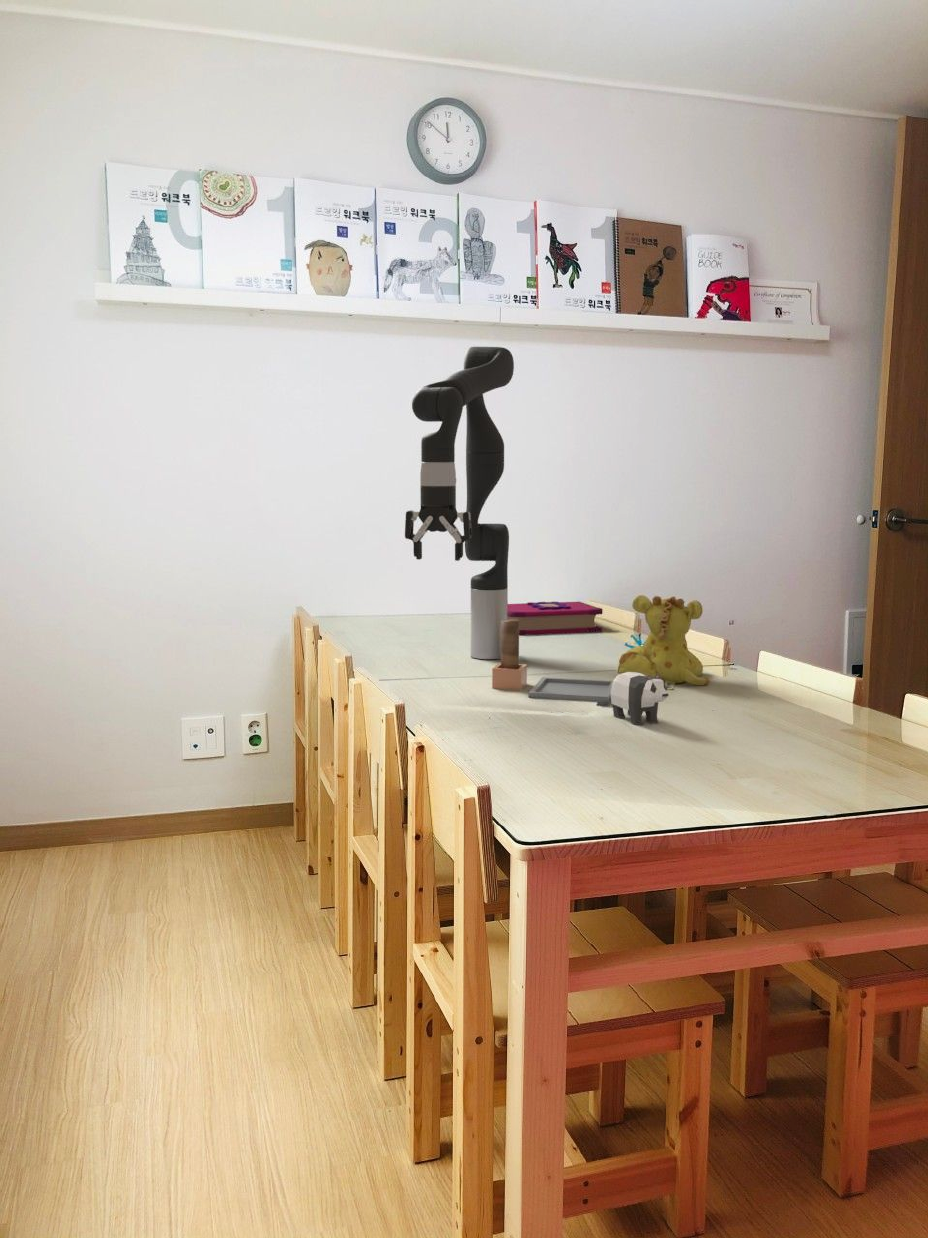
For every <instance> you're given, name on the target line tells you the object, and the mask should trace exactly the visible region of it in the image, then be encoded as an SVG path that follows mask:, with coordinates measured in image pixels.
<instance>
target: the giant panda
mask: <svg viewBox="0 0 928 1238" xmlns="http://www.w3.org/2000/svg"><path fill="white" fill-rule="evenodd" d="M659 678H660V675H656V676H655V677H654V679H652V677H651V676H648V677H647V676H645V675H643V674H641V673H637V672H626V673H622V674H619V673H618V675H616V677H615V678H614V680H612V681H613V683H612V688H611V701H610V703H611V706H612V711H613V712H612V713H613V717H615V718H618V719H625V718H626V714H625V712H624V710H627V715H628V716H629V717H630V718H629V719H630V723H631V724H632V725H635V726H637V725H640V726H644V722H643V720H642V716H643V714H644V712H645V722H646V723H649V722H650V723H649V724H652V723H655V724H659V719H658V710H659V703H661V702H664V701H665V700H667V698H669V693H668V690H667V687H666V685H665V682H664V681H663V680H661V679H659Z"/></svg>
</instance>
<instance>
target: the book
mask: <svg viewBox="0 0 928 1238" xmlns="http://www.w3.org/2000/svg"><path fill="white" fill-rule="evenodd" d="M597 615H603V608H601V607H597V606H594V605H591V604H588V603H586V602H582V601H539V602H534V601H533V602H531V601H530V602H527V603H508V620H519V636H533V635H556V634H557V635H558V634H559V635H560V634H579V633H581V634H584V633H585V634H586V633H602V632H603V627H602V626H598V625H596V624H595V617H596V616H597Z"/></svg>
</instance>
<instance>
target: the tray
mask: <svg viewBox="0 0 928 1238" xmlns="http://www.w3.org/2000/svg"><path fill="white" fill-rule="evenodd" d="M613 681H614V680H605V679H603V680H602V679H584V678H583V679H582V678H564V677H563V678H562V677H546V676H545V677H544V676H543V677H541V678H540V680H539V681H538V682H537V683H536V684H535V685H534V686H533V687H532V688H531V689H530V690H529V692H528V698H530V699H546V700H547V699H548V700H562V701H563V700H565V701H578V702H579V701H580V702H581V701H582V702H583V701H584V702H597V703H596V706H607V707H608V706H610V703H611V688H612V683H613Z"/></svg>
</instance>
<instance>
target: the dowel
mask: <svg viewBox="0 0 928 1238" xmlns="http://www.w3.org/2000/svg"><path fill="white" fill-rule="evenodd" d="M500 663H501V668H507V669H519V664H520V635H519V620H501V658H500Z"/></svg>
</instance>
